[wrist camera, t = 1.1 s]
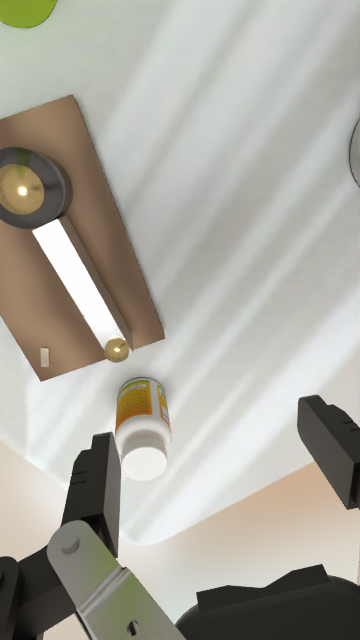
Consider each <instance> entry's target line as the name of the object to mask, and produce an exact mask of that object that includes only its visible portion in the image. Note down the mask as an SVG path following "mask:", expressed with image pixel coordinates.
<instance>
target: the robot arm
mask: <svg viewBox="0 0 360 640" xmlns="http://www.w3.org/2000/svg"><path fill="white" fill-rule="evenodd" d="M350 163H351V169H352V173H353V175H354V177H355V180H356V182H357V183H358V184H359V186H360V120H359V122H358V124H357V126H356V129H355V132H354V134H353V137H352V143H351V148H350ZM297 428H298V432H299V436H300V438H301V440H302V441H303V443H304V445H305V446H306V448H307V449H308V451H309V452H310V454H311V455H312V457H313V458H314V460H315V461H316V463H317V464H318V466H319V467H320V469H321V471H322V472H323V474H324V475H325V476H326V478H327V480H328V481H329V483H330V484H331V485H332V487H333V489H334V490H335V492H336V493H337V495H338V497H339V498H340V500H341V501H342V503H343V504H344V506H345V507H346V509H347V510H349V509H354V508H359V510H360V427H359V426H358V425H357V424H356V423H355V422H353V420H352V419H351V418H350V417H349V416H348V414H347V413H346V412H345V411H343V410H341V409H340V408H338V407H336V406H335V405H333V404H332V405H327V404H326V403H325V402H324V401H323V399H322V398H321V397H320V396H319V395H312V396H307V397H301V398H299V401H298V419H297ZM120 487H121V465H120V459H119V455H118V451H117V447H116V443H115V439H114V436H113V433H112V432H107V433H102V434H96V435H94V436H93V439H92V446H91V449H88V450H83V451H81V452H80V454H79V455H78V457H77V459H76V460H75V462H74V466H73V470H72V476H71V480H70V486H69V489H68V494H67V499H66V504H65V509H64V513H63V518H62V523H61V526H60V528H59V529H58V530H57V531H56V532H55V533H54V534H53V536H52V537H51V539H50V541H49V543H48V545H46V546H45V547H44V548H42V549H41V550H39V551H38V552H36V553H34V554H32V555H30V556H28V557H26V558H24V559H22V560H21V561H19V562H17V561H16V560H15V559H14V558H12V557H8V556H4V557H0V640H43V634H44V632H45V631H46V630H48V629H49V628H51V627H53V626H54V625H56V624H57V623H59V622H61V621H62V620H64V619H65V618H67V617H69V616H70V615H72V614H73V613H74V615H75V616H76V618H77V620H78V622H79V623H80V625H81V627H82V628H83V630H84V632H85V634H86V635H87V637H88V639H89V640H360V555H359V569H358V578H357V584H355V583H353V582H351V581H348V580H346V579H343V578H340V577H336V576H331V575H327V573H326V571H325V569H324V567H323V565H322V564H320V565H315V566H311V567H307V568H302V569H298V570H293V571H291V572H289V573H288V574H286V575H284V576H283V577H281V578H279V579H278V580H276V581H274V582H273V583H271V584H270V585H268V586H266V587H264V588H254V587H242V586H230V585H227V586H223V587H219V588H214V589H210V590H205V591H201V592H197V593H196V594H197V600H198V604H197V605H195V606H193V607H192V608H190V609H189V610H188V611H187V612H185V613H184V614H183V615H182V617H181V618H180V619H179V620H178V621H177V622H176V624H175V625H174V624H173V623H172V621H171V620H170V619H169V618H168V616H167V615H166V614H165V613H164V611H163V610H162V609H161V608H160V607H159V605H158V604H157V603H156V602H155V600H154V599H153V598H152V597H151V596H150V594H149V593H148V592H147V590H146V589H145V588H144V587H143V585H142V584H141V583H140V582H139V580H138V579H137V578H136V577H135V575H134V574H133V573H132V572H131V571H130V570H129V569H128V568H127V567H124V568H123V567H122V566H121V565H120V564H119V563H118V561H117V560H116V559H115V558H118V537H119V512H120Z"/></svg>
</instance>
